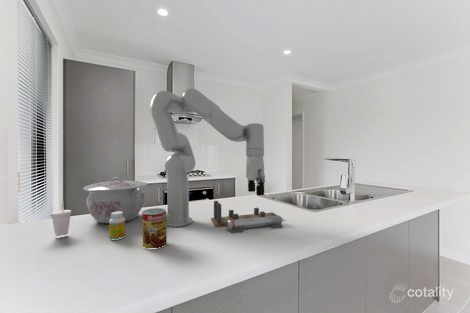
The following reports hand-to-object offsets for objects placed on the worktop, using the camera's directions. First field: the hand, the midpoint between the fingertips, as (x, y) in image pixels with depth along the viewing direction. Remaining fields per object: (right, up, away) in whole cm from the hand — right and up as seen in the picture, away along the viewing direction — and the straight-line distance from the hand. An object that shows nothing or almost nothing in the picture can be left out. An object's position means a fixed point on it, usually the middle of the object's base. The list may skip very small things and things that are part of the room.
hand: (255, 193), depth 95 cm
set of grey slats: (0, -15, 0) cm, 15 cm away
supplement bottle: (-53, -16, -10) cm, 57 cm away
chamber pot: (-66, -15, +13) cm, 68 cm away
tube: (0, -15, 0) cm, 15 cm away
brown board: (-3, -15, +11) cm, 19 cm away
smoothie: (-76, -16, -9) cm, 78 cm away
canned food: (-37, -16, -17) cm, 43 cm away
